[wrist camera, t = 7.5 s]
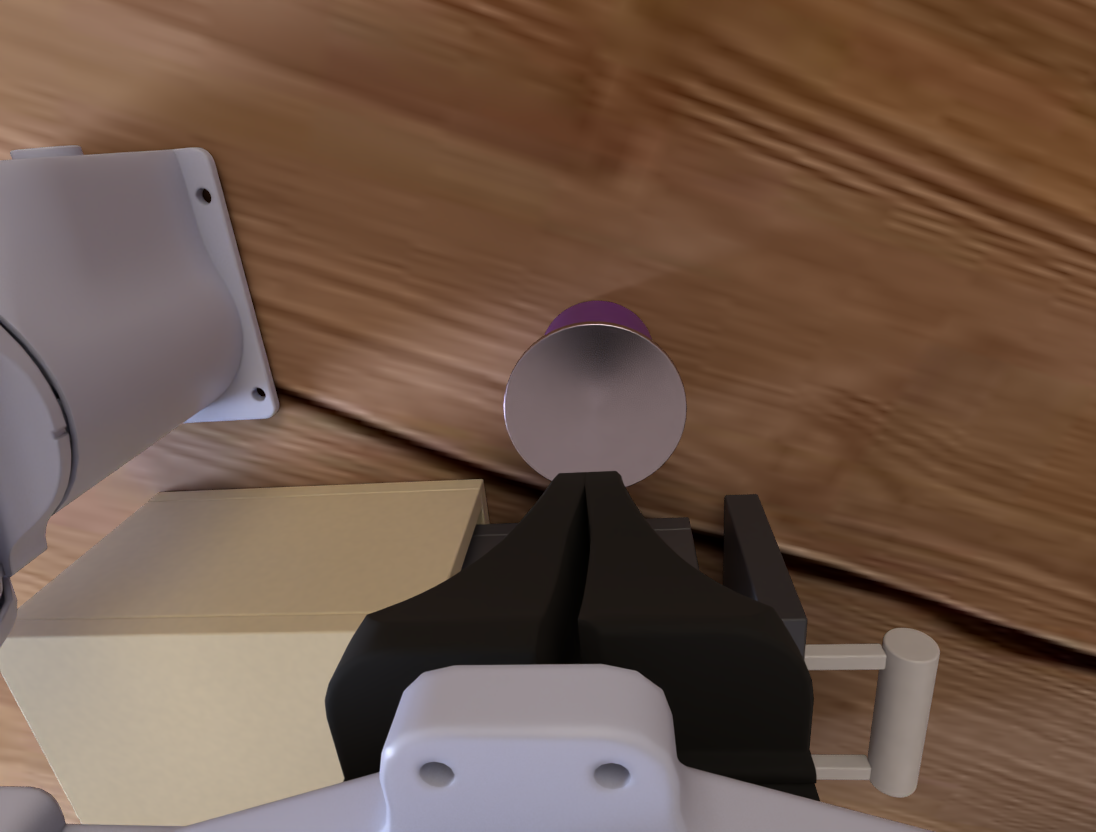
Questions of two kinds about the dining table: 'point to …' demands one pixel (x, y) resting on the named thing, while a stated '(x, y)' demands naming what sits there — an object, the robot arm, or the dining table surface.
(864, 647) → the pod drawer
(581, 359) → the coffee pod
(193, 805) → the mini desk drawer box
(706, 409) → the dining table surface
